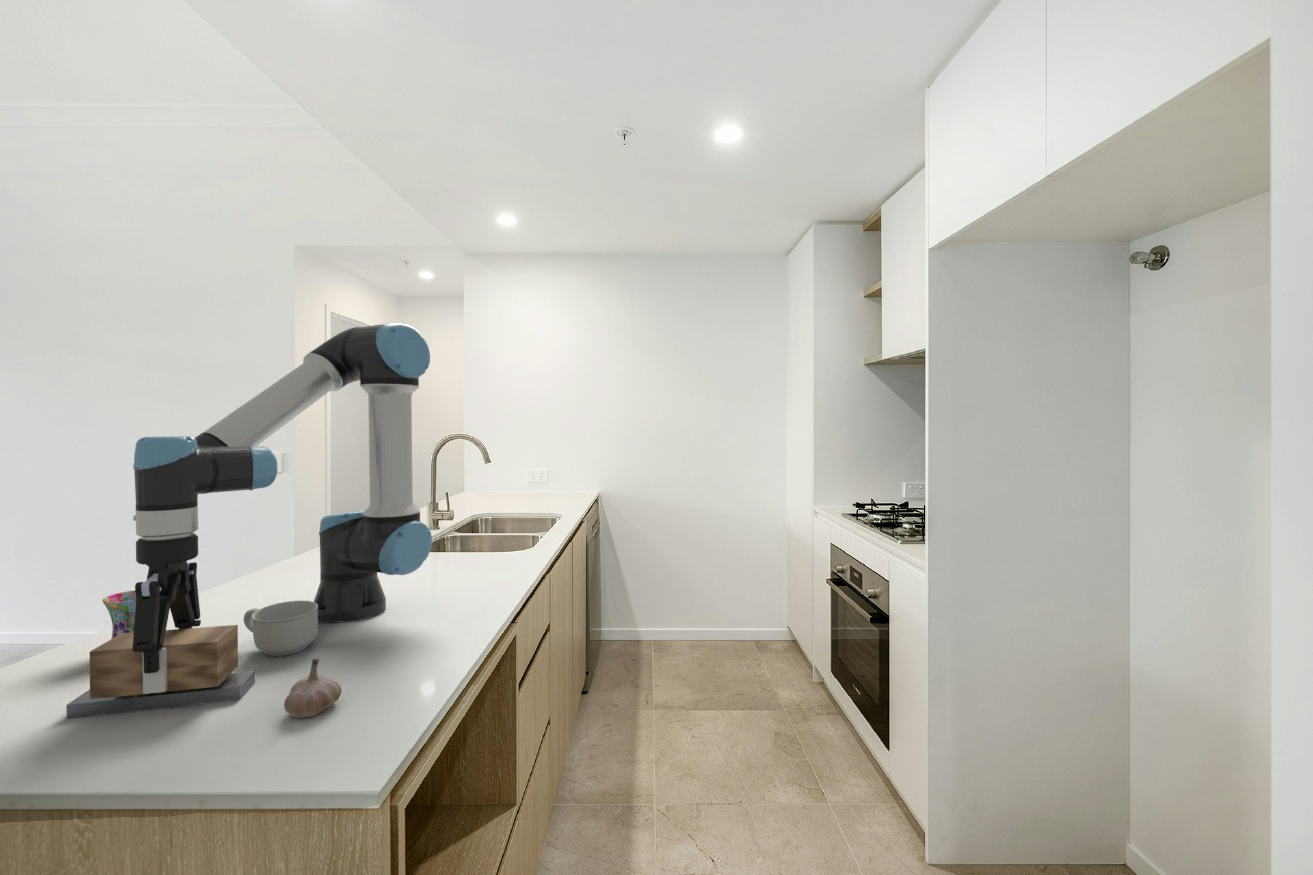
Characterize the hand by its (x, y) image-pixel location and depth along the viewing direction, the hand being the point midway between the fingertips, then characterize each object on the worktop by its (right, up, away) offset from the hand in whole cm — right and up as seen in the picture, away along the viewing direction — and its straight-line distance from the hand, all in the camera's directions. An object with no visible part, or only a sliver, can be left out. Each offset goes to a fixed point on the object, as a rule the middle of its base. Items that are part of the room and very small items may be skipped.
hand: (169, 679), depth 93 cm
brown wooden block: (0, 0, 0) cm, 0 cm away
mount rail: (0, -3, 0) cm, 3 cm away
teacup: (+4, -3, +21) cm, 22 cm away
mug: (-23, -3, +21) cm, 32 cm away
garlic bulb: (+24, -4, -3) cm, 25 cm away
